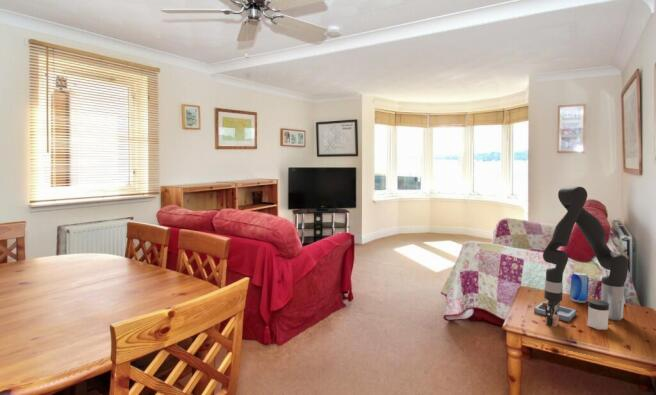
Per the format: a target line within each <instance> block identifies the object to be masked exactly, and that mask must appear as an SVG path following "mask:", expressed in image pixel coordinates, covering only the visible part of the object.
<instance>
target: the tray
mask: <svg viewBox="0 0 656 395" xmlns="http://www.w3.org/2000/svg"><path fill="white" fill-rule="evenodd" d="M543 302H544V301H541V302H540V303H539V304H538V305H536V306H535V307H534V308H533V313H534V314H538V315H542V316H545V310H543ZM557 315H559V321H564V322H568V323H569V322H570V321H572V319H573V318H574V317H575V316H576V315H577V309H575V308H570V307H567V306H566V307H565V306H563V305H562V306H561V305H559V312H558V314H557Z"/></svg>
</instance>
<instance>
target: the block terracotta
mask: <svg viewBox="0 0 656 395" xmlns="http://www.w3.org/2000/svg"><path fill="white" fill-rule="evenodd" d="M549 315H550V314H549ZM544 322H545V323H544V324H545V325H547V326H549V325H548V324H547V317H546V316H545V321H544ZM559 322H560V319H559V315H555V314H553V323H552V325H550V326H551V327H555V328H556V327H557V326H558V325H559Z"/></svg>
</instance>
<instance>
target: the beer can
mask: <svg viewBox="0 0 656 395" xmlns="http://www.w3.org/2000/svg"><path fill="white" fill-rule="evenodd" d="M589 279H590V278H589V276H588V274H587V273H586V272H582V271H574V272H573V273H572V274H571V276H570V289H569V290H570V291H569V298H570V299H571V301H572V302H576V303H578V304H580V303H581V304H585V303H586V302H587V301H589V300H588V299H589V296H588V295H589V282H590V280H589Z"/></svg>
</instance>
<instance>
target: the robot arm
mask: <svg viewBox="0 0 656 395" xmlns="http://www.w3.org/2000/svg"><path fill="white" fill-rule="evenodd" d="M557 197H558V200H559V202H560V204H561V205H562V206H563V208H564V209H565V210H566V213H565V214H564V216H563V217H562V218H561V219H560V220H559V221H558V223H557V224H556V226H555V228H554V231H553V235H552V238H551V239H550V241H549V243H548V244H547V245H546V247H545V249H544V250H543V253H542V259H543V261H544V262H546V263H547V264H548V263H549V264H553V265H555V267H547V268H546V270H545V282H544V295H543V296H544V299H546V301H548V303H547V305H546V306H545V315H544V316H545V318H546V317H547V324H548V325H547V324H546V325H547V326H551V325H552V323H553V314H555V315H557V314H558V312H559V306H561V305H560V304H561V301H563V289H564V288H563V287H564V284H563V278H564V271H565V269H566V266H567V264H568V262H569V256H568V254H567V252H565V251H563V250H559V249H558V248H561V247H567V246H568V245H569V242H570V238H571V236H572V232H573V228H574V225H575V224H576V225H577V227H578V229H580V230H579V231H580V232H581V233H582V235H583V236H584V238H585V239H586V241H587V242H588V245H589V246H590V248H591V249H592V251H593V253H594V255H595V257H596V259H597V261H598V263H599V265H600V266H601V267H602V268H603V269H606V270H608V271H609V275H606V276H605V275H604V276H602V277H601V288H600V298H599V300H602V301H605V302H607V303H609V314H608V320H612V321H619V322H620V321H622V319H623V318H624V306H625V305H624V304H625V299H624V295H625V293H624V292H625V283H626V282H627V278H628V277H627V276H628V271H629V260H628V258H627V256H625V255H624V254H621V253H620V254H619V253H616V252H613V251H612V250H611V249H610V248H609V246H608V245H607V243H606V237H607V234H606V230H605V228H604V226H603V225H602V222H601V221H600V220H599V219H598V218H597V217H596V216H595V215H593V214H592V213H591V212H589V211H588V210H586V209H585V208H584V207H585V204H586V202H587V199H588V191H587V189H586V188H585V187H583V186H563V187H560V189H559V190H558V193H557ZM549 314H550V315H549Z"/></svg>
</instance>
